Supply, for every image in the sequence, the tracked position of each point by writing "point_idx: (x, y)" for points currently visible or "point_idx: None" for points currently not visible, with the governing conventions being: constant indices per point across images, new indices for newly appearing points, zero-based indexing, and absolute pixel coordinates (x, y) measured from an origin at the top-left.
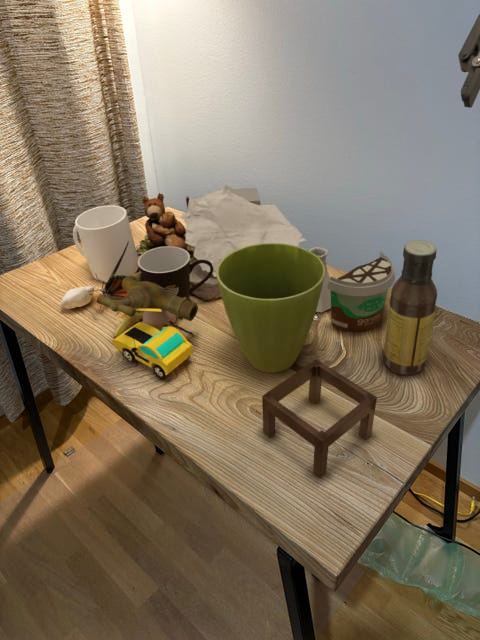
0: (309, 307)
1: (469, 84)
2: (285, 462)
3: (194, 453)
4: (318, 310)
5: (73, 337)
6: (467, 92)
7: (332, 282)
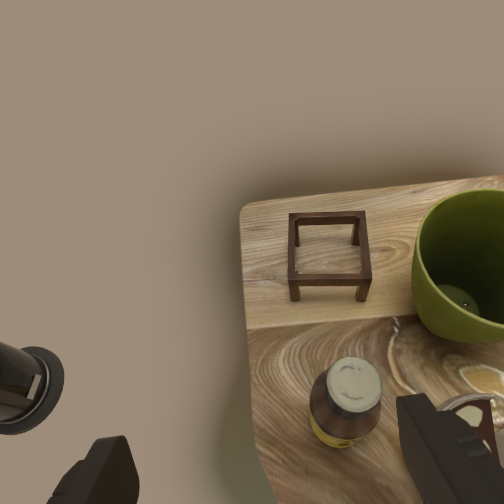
0: (414, 271)
1: (445, 429)
2: (322, 232)
3: (379, 191)
4: (500, 430)
5: None
6: (421, 403)
7: (483, 393)
